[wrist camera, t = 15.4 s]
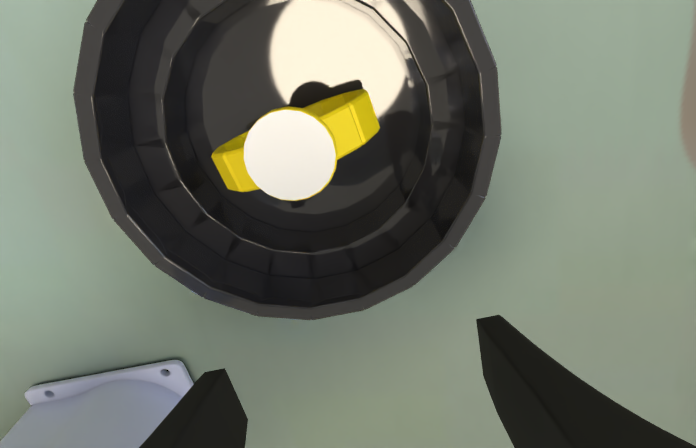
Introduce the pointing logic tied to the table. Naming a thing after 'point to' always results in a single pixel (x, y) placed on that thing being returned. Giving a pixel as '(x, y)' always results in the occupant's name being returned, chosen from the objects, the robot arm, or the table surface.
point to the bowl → (276, 92)
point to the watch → (297, 146)
